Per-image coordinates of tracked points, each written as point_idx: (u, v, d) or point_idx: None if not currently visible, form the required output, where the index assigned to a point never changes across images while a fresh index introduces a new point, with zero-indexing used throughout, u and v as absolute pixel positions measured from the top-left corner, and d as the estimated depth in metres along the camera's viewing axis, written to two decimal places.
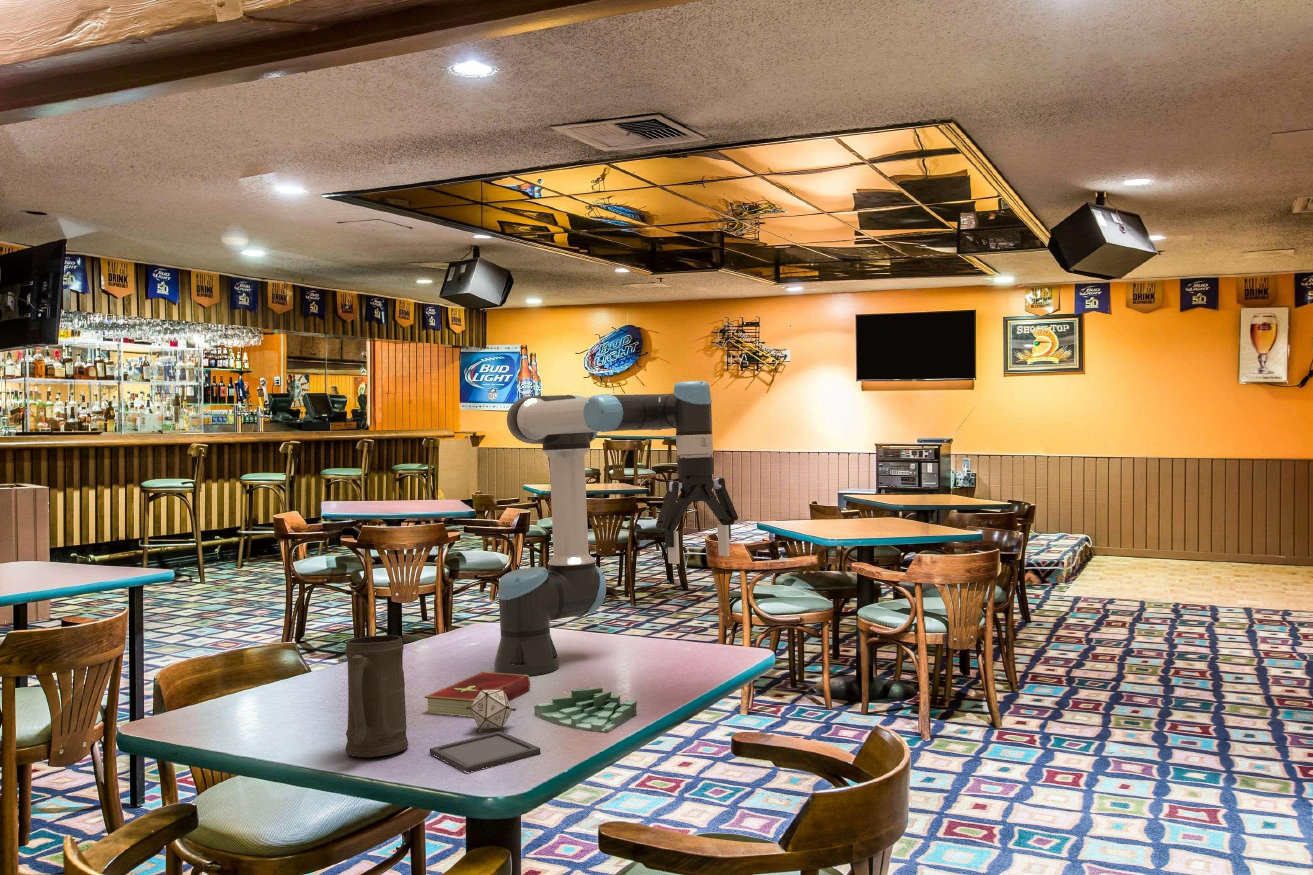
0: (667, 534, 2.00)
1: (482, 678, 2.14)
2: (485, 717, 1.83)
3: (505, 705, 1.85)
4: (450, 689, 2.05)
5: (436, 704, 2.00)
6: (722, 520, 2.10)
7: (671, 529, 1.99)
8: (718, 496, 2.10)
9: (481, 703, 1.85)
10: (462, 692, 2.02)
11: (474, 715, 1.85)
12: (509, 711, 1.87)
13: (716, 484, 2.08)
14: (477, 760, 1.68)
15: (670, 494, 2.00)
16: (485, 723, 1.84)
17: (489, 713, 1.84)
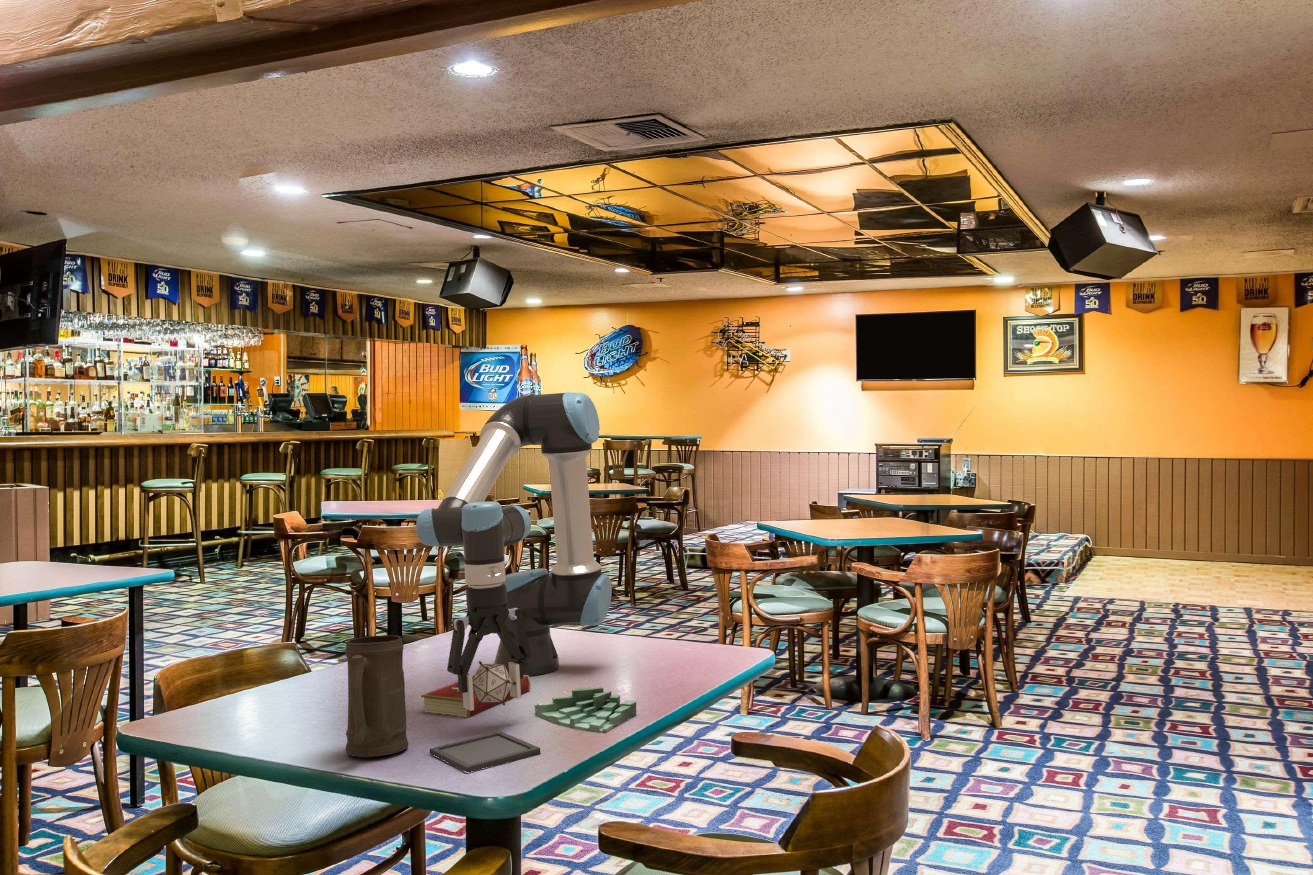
0: (460, 678, 1.84)
1: None
2: (486, 691, 1.84)
3: (506, 679, 1.86)
4: (448, 688, 2.06)
5: (432, 703, 2.01)
6: (513, 657, 1.91)
7: (463, 674, 1.83)
8: (513, 628, 1.92)
9: (482, 678, 1.85)
10: (458, 692, 2.03)
11: (475, 689, 1.86)
12: (510, 685, 1.88)
13: (512, 614, 1.90)
14: (477, 760, 1.68)
15: (456, 634, 1.83)
16: (486, 697, 1.85)
17: (490, 687, 1.84)
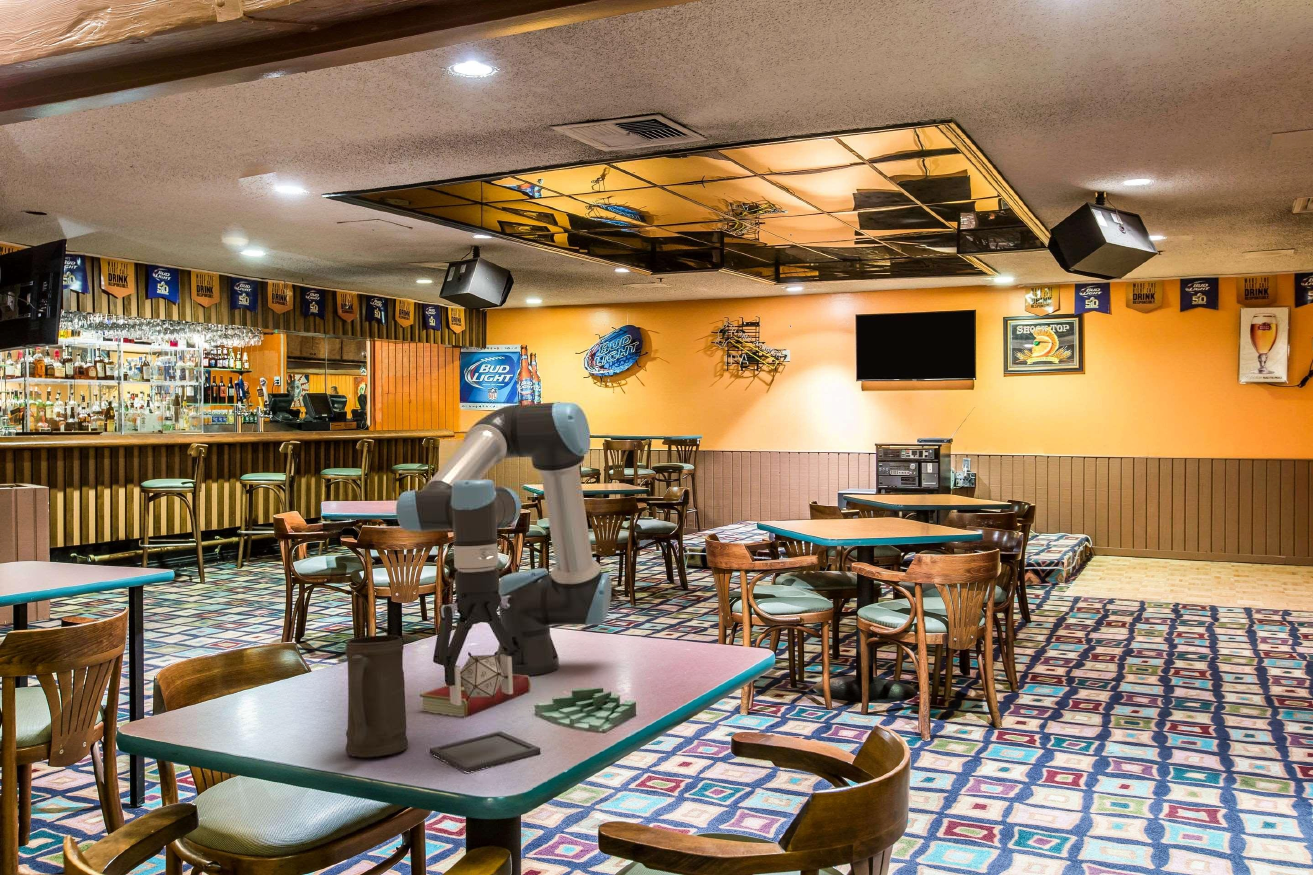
0: (446, 670, 1.69)
1: None
2: (475, 684, 1.69)
3: (496, 671, 1.71)
4: (447, 688, 2.06)
5: (430, 703, 2.01)
6: (506, 649, 1.77)
7: (451, 665, 1.68)
8: (506, 617, 1.77)
9: (470, 669, 1.70)
10: None
11: (463, 683, 1.71)
12: (501, 678, 1.73)
13: (504, 602, 1.75)
14: (477, 760, 1.68)
15: (443, 621, 1.68)
16: (475, 691, 1.70)
17: (479, 680, 1.69)
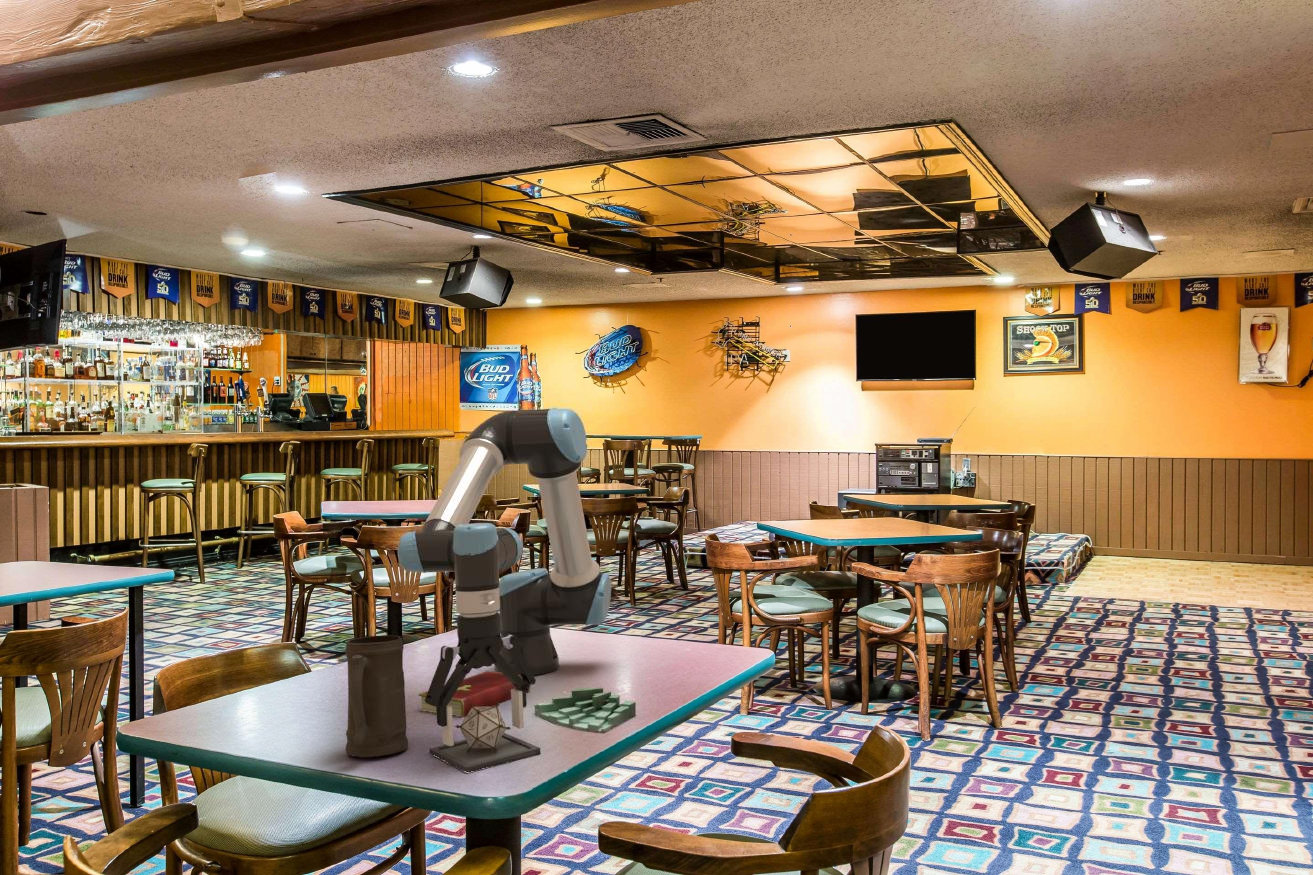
0: (438, 710, 1.68)
1: (483, 677, 2.14)
2: (476, 737, 1.69)
3: (498, 724, 1.71)
4: None
5: None
6: None
7: (442, 705, 1.67)
8: (511, 656, 1.77)
9: (472, 721, 1.70)
10: None
11: (465, 734, 1.71)
12: (503, 730, 1.73)
13: (507, 643, 1.76)
14: (477, 760, 1.68)
15: (443, 662, 1.68)
16: (477, 743, 1.70)
17: (481, 732, 1.70)
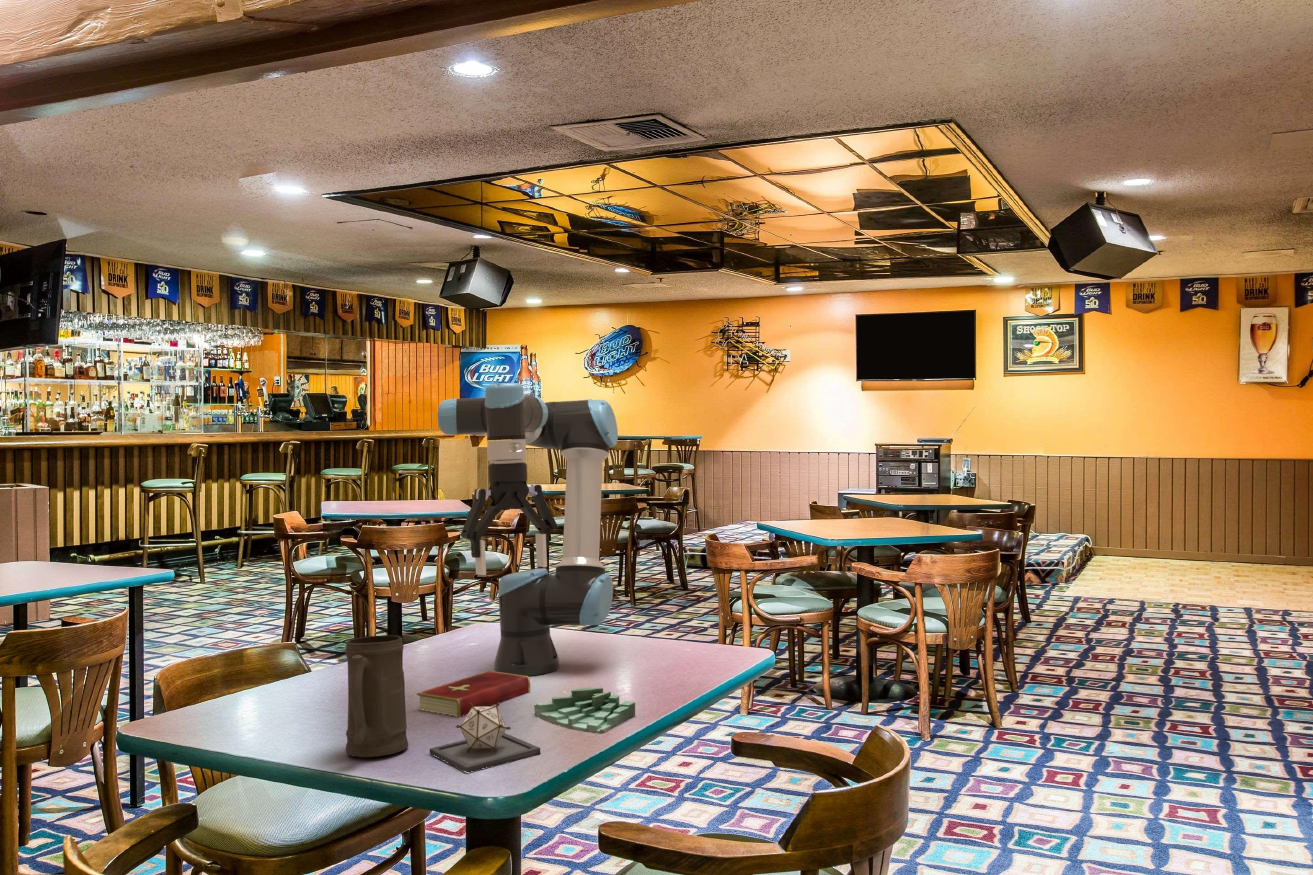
0: (473, 544, 1.90)
1: (483, 677, 2.15)
2: (476, 737, 1.69)
3: (498, 724, 1.71)
4: (445, 687, 2.07)
5: (426, 702, 2.02)
6: (540, 528, 2.00)
7: (476, 539, 1.89)
8: (536, 504, 2.00)
9: (472, 721, 1.71)
10: (453, 691, 2.04)
11: (465, 734, 1.71)
12: (503, 730, 1.73)
13: (532, 491, 1.98)
14: (477, 760, 1.68)
15: (476, 502, 1.91)
16: (477, 743, 1.70)
17: (481, 732, 1.70)
